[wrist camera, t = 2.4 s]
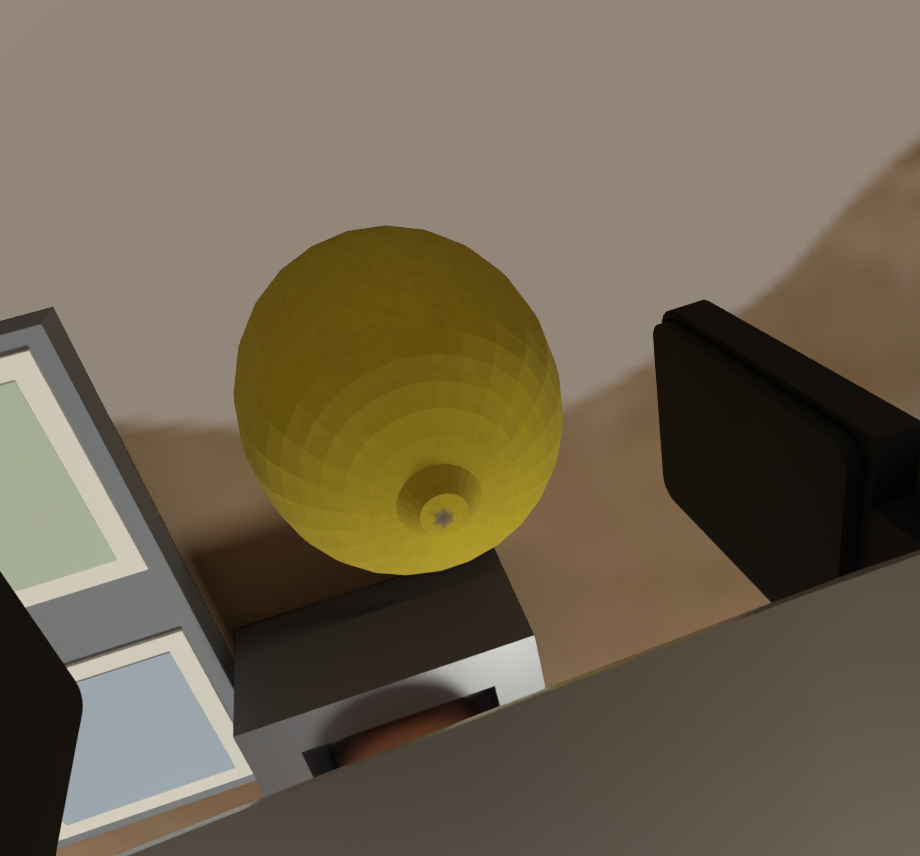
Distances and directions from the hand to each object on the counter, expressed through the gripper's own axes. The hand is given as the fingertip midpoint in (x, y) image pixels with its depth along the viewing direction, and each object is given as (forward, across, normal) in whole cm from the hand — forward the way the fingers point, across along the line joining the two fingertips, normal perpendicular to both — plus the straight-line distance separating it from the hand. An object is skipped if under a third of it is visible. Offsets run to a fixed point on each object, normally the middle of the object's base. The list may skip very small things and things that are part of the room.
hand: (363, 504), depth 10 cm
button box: (+7, +1, +11) cm, 13 cm away
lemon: (+7, -1, 0) cm, 8 cm away
